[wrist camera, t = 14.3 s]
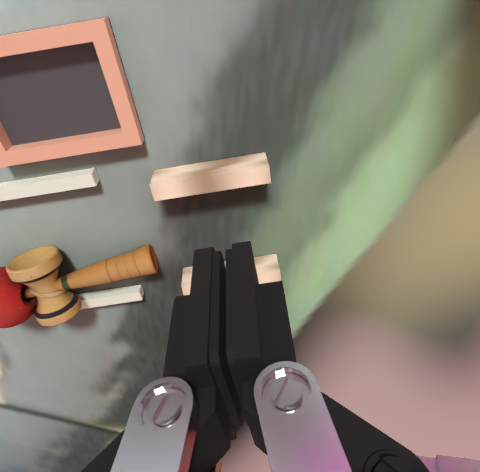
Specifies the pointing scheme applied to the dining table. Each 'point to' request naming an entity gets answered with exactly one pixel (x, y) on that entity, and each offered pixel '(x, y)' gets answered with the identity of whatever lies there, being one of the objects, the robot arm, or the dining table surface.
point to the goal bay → (64, 184)
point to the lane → (212, 180)
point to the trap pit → (64, 94)
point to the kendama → (60, 283)
